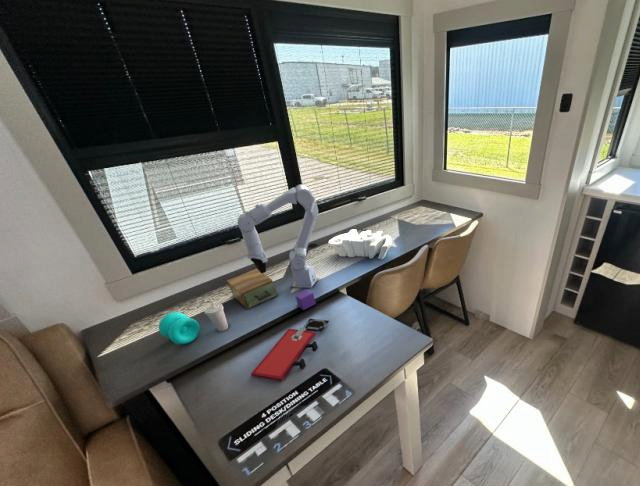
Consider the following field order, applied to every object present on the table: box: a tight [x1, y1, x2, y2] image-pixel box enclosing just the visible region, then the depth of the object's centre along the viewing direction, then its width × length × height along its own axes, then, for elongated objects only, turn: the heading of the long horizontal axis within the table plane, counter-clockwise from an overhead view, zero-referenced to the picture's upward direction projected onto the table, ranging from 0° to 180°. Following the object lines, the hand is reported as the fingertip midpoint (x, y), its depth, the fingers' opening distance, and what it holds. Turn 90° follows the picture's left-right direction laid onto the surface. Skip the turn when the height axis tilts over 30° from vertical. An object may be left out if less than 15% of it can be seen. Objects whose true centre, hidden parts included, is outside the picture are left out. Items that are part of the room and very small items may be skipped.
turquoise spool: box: [158, 311, 201, 345], centre depth 115 cm, size 10×10×10 cm
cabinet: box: [226, 268, 278, 310], centre depth 138 cm, size 16×14×8 cm
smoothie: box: [203, 296, 229, 332], centre depth 118 cm, size 6×6×14 cm
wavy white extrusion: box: [328, 228, 393, 260], centre depth 167 cm, size 35×16×11 cm, turn 71°
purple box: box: [294, 288, 317, 311], centre depth 130 cm, size 4×6×6 cm
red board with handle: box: [250, 318, 330, 382], centre depth 109 cm, size 30×3×15 cm
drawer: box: [243, 282, 278, 309], centre depth 136 cm, size 19×12×6 cm, turn 45°
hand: (263, 272), depth 137 cm, fingers closed
